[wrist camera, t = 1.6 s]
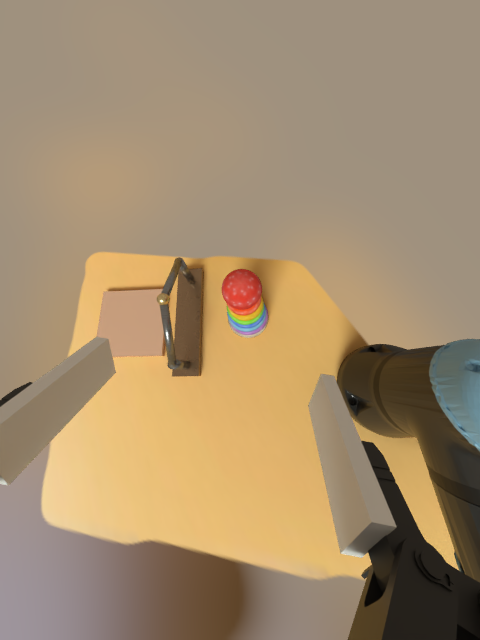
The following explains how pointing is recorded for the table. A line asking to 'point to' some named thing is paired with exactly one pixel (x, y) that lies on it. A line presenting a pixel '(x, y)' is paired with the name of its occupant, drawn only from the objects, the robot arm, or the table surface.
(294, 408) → the table surface
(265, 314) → the stacking toy
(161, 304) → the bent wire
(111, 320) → the terracotta pad
